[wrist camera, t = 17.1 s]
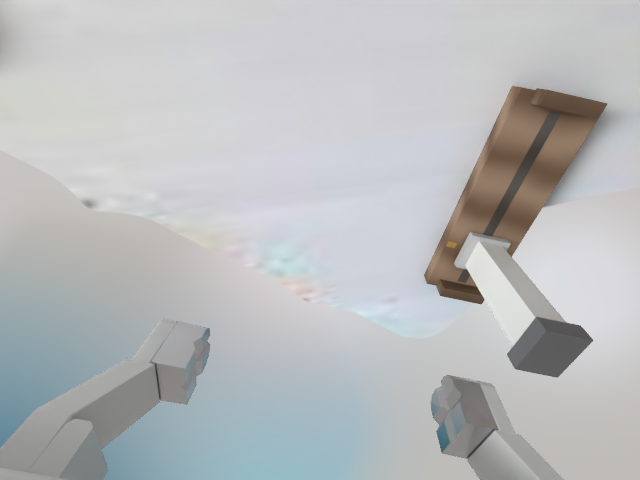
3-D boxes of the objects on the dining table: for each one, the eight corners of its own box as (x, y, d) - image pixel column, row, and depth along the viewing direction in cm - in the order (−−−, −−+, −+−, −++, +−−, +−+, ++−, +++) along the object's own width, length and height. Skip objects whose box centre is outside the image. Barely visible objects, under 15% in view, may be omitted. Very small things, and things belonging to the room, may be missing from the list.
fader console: (513, 84, 32) (533, 86, 29) (593, 102, 33) (622, 106, 29) (423, 276, 46) (429, 293, 42) (481, 288, 46) (491, 306, 43)
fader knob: (470, 231, 39) (540, 329, 25) (507, 239, 39) (599, 341, 25) (453, 262, 42) (509, 368, 27) (489, 270, 42) (562, 378, 27)
